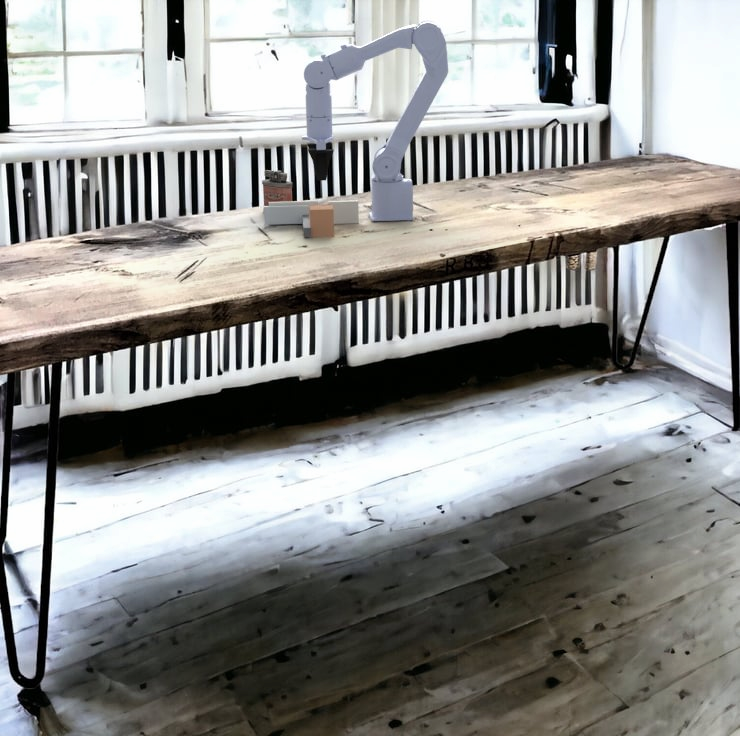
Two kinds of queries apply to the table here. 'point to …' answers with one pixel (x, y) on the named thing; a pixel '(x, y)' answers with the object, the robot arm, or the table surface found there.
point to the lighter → (276, 187)
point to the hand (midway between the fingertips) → (320, 177)
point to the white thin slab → (342, 209)
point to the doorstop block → (322, 221)
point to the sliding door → (288, 216)
